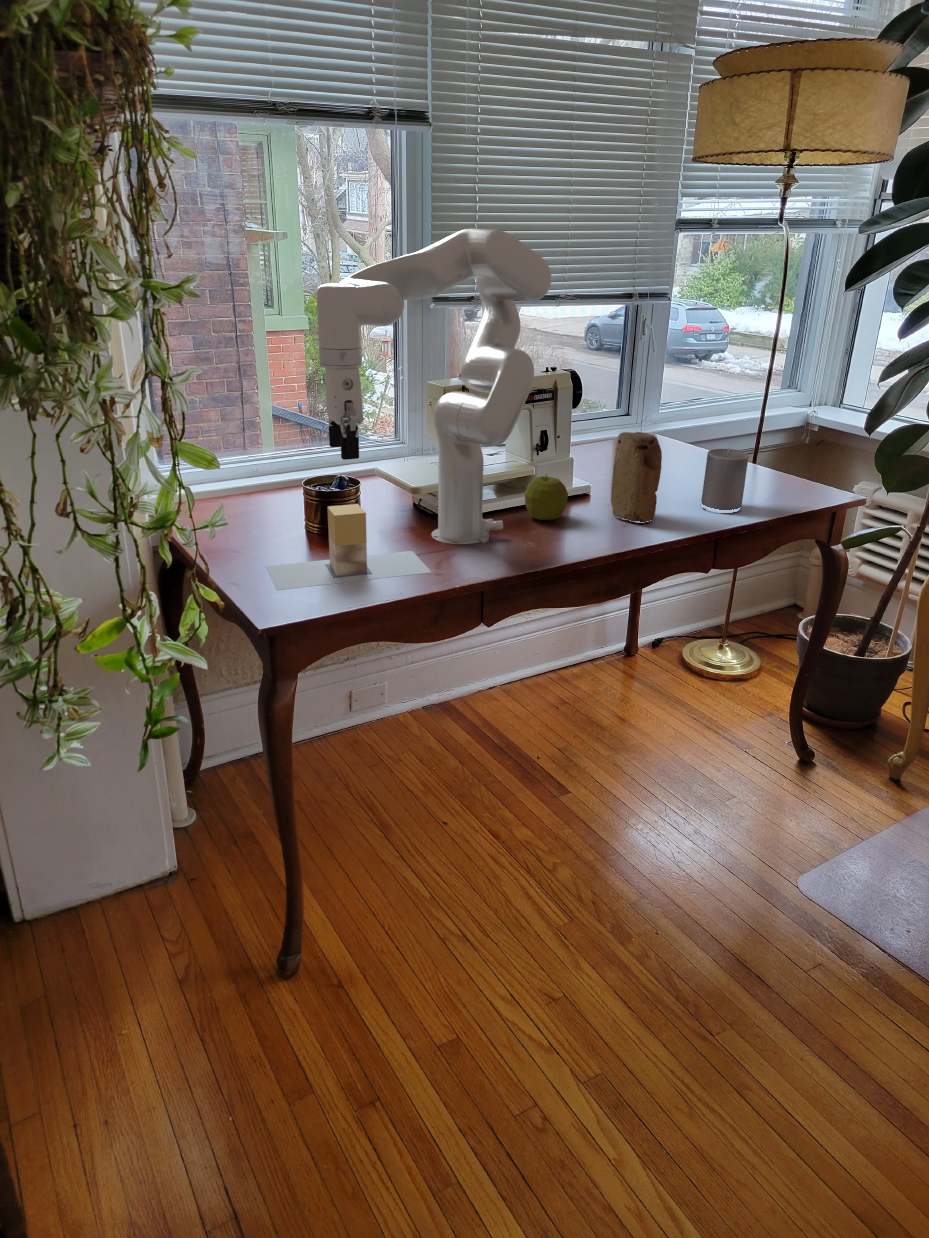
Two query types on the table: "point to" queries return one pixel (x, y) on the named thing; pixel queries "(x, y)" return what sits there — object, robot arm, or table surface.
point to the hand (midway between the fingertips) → (344, 452)
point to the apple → (545, 498)
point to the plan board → (324, 574)
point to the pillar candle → (724, 479)
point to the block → (636, 476)
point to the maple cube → (348, 558)
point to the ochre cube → (347, 524)
